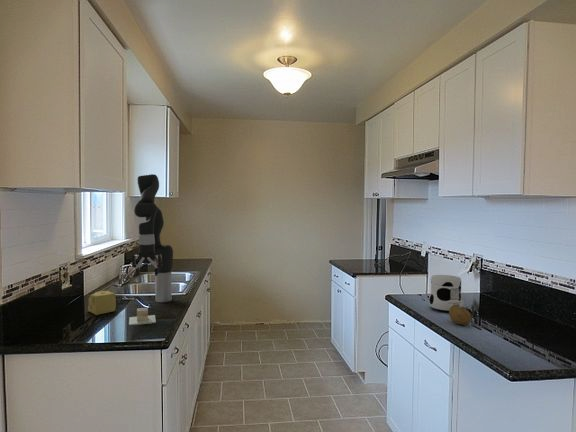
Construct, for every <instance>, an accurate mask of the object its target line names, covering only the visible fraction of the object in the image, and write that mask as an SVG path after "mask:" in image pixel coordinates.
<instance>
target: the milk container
mask: <svg viewBox="0 0 576 432" xmlns="http://www.w3.org/2000/svg"><path fill="white" fill-rule="evenodd" d="M428 305H429V306H430V308H431V309H433V310H436V311H439V312H444V313H449V309H450V308H451V307H452V306H460V307H462V308H463V305H464V303H463V297H462V278H461V277H460V276H455V275H449V274H435V275H431V277H430V294H429V297H428Z"/></svg>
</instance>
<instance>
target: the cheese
mask: <svg viewBox="0 0 576 432" xmlns="http://www.w3.org/2000/svg"><path fill="white" fill-rule="evenodd" d="M87 301H88V306H87V311H88V312H89V313H92V314H93V315H95V316H98V315H103V314H106V313H107V314H108V313H111V312H115V311H116V308H117V307H116V306H117V302H116V301H117V298H116V294H115V293H114V292H111V291H109V290H101V291H95V292H94V293H93V294H90V296H89V297H88V300H87Z"/></svg>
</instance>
